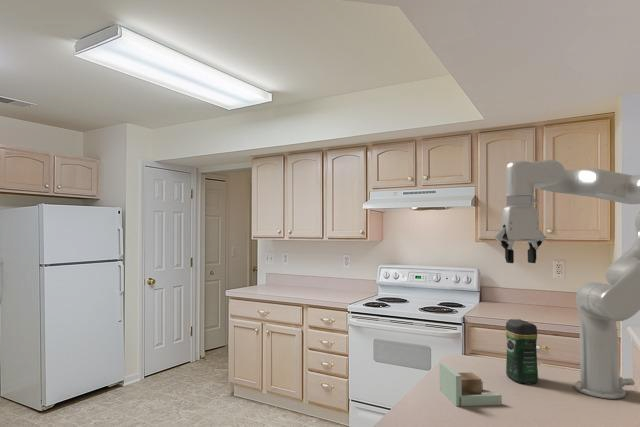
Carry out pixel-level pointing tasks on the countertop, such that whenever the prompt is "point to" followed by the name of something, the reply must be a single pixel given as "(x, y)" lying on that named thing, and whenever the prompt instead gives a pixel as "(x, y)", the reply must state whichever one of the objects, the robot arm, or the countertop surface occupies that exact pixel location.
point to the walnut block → (470, 384)
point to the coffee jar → (521, 351)
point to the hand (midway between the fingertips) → (520, 262)
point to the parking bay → (453, 390)
